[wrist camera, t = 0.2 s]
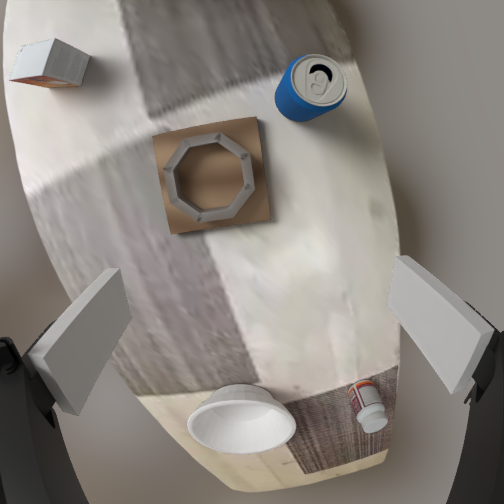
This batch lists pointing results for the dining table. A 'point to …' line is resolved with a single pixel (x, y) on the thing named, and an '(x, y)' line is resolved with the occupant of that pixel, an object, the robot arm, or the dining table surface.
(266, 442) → the bowl
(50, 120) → the dining table surface
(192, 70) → the dining table surface
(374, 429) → the pill bottle
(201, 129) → the socket
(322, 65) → the beverage can
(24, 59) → the small box
